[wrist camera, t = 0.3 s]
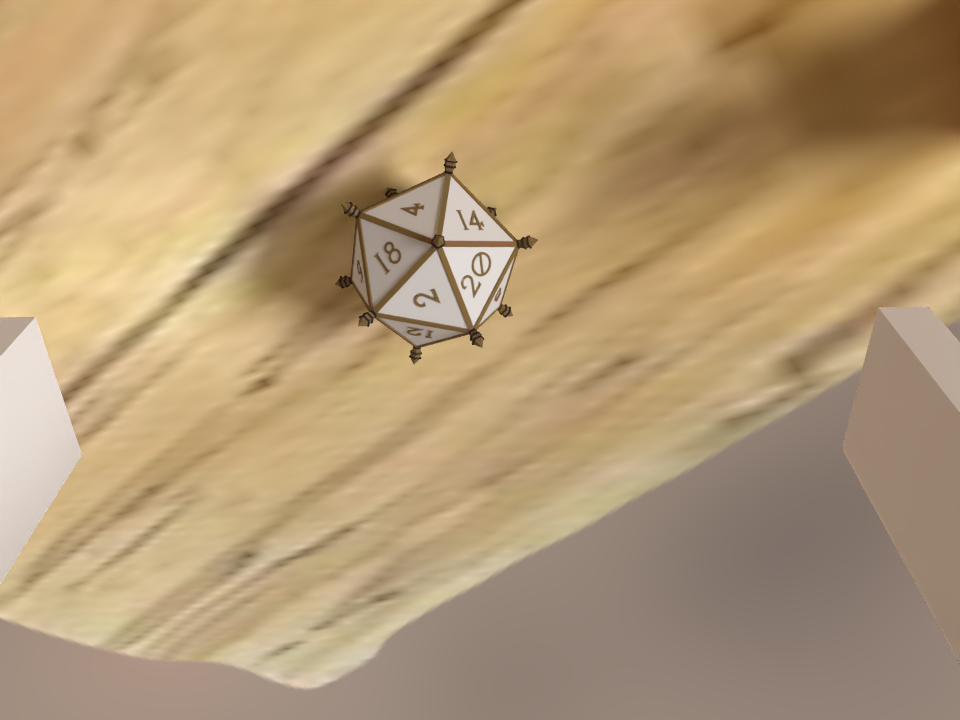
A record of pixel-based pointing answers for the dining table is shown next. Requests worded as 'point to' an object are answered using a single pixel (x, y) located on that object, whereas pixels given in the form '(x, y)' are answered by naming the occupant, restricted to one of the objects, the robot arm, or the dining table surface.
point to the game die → (431, 261)
